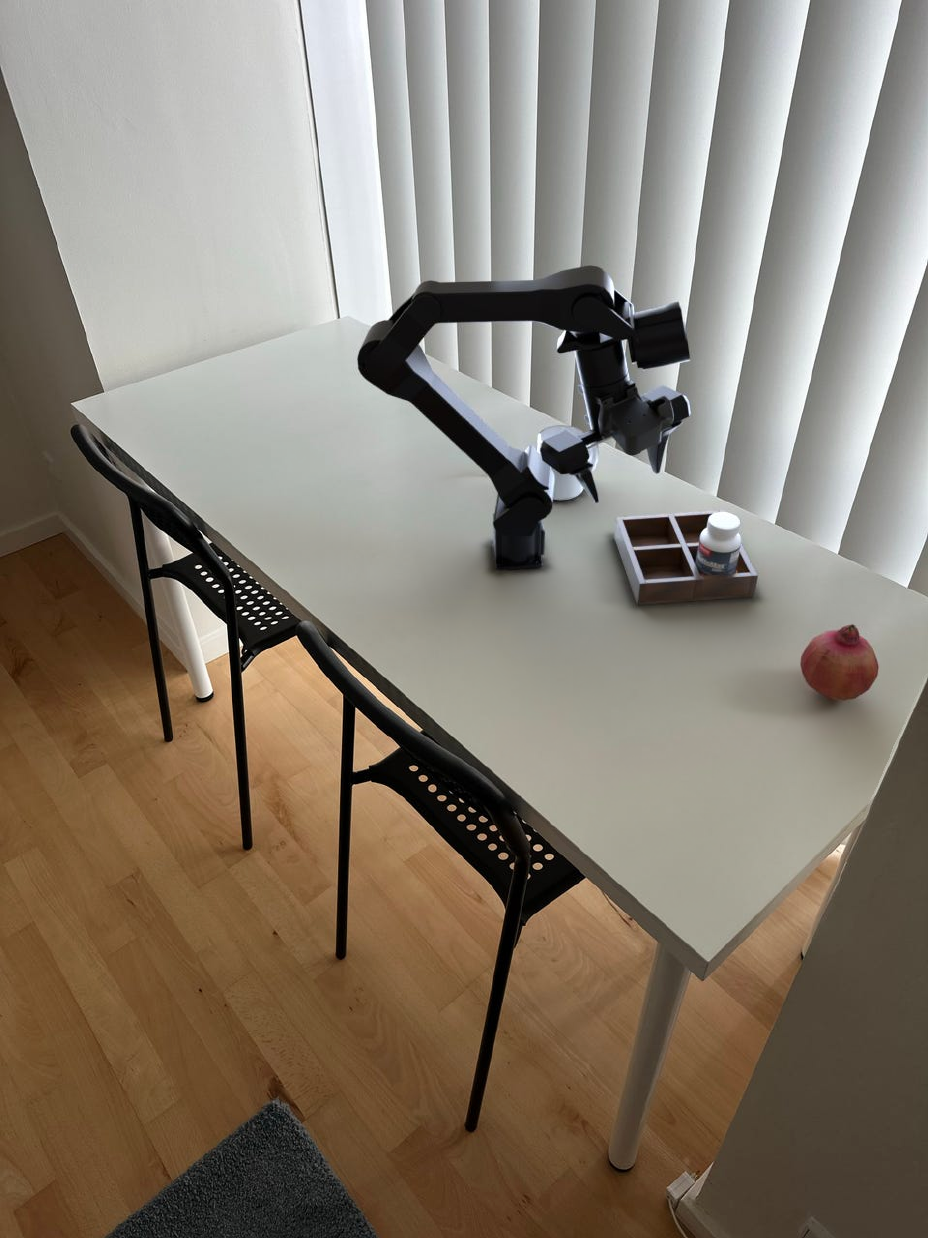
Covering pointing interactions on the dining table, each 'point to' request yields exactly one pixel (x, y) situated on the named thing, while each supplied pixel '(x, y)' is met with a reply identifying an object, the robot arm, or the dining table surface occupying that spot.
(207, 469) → the dining table surface
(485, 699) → the dining table surface
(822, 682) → the fruit
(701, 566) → the pill bottle
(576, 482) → the cup
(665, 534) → the divided tray
